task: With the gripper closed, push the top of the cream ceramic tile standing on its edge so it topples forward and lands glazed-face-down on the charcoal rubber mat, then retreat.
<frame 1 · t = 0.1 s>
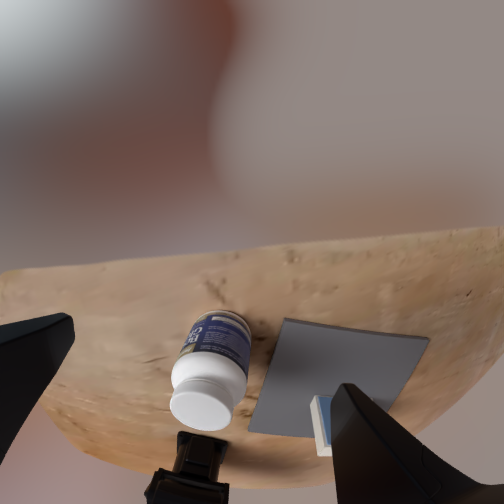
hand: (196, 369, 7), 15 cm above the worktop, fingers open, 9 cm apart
mat: (336, 391, 25), on the worktop
tile: (342, 402, 25), point 1 cm above the worktop, touching mat
pill bottle: (222, 333, 24), on the worktop
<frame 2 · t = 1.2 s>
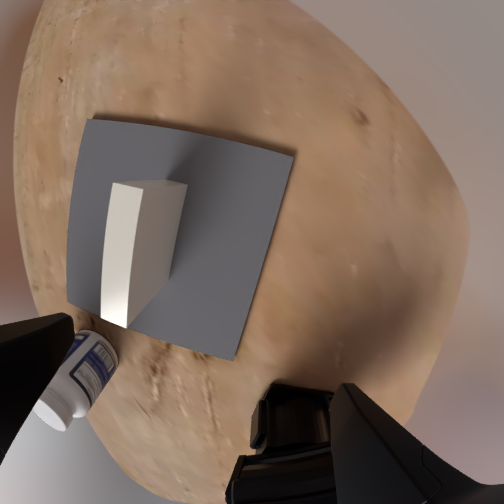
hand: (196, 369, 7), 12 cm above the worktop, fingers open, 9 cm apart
mat: (154, 239, 19), on the worktop
tile: (166, 231, 18), point 1 cm above the worktop, touching mat
pill bottle: (97, 350, 23), on the worktop
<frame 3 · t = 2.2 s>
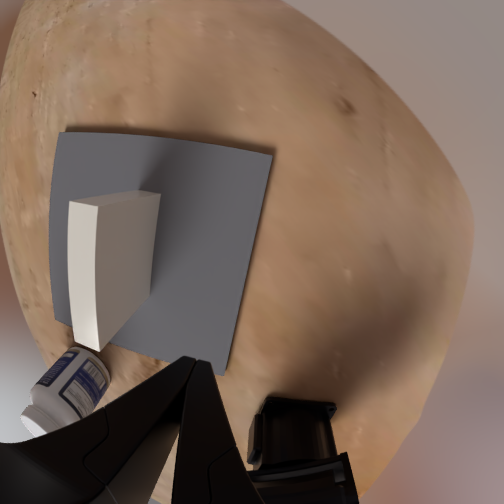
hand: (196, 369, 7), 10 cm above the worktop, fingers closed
mat: (132, 253, 18), on the worktop
tile: (142, 245, 17), point 1 cm above the worktop, touching mat
pill bottle: (89, 366, 21), on the worktop
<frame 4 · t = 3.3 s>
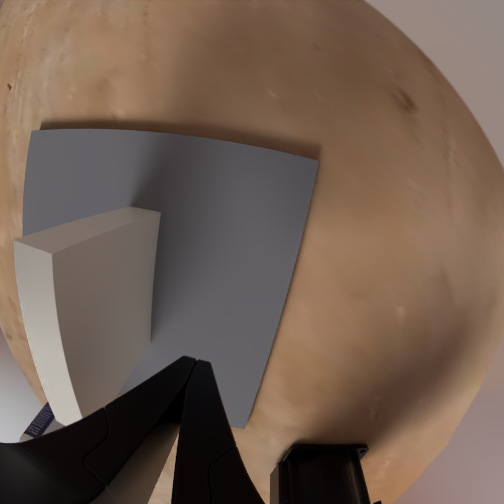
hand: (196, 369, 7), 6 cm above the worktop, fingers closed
mat: (125, 289, 13), on the worktop
tile: (138, 280, 12), point 1 cm above the worktop, touching mat
pill bottle: (84, 407, 17), on the worktop
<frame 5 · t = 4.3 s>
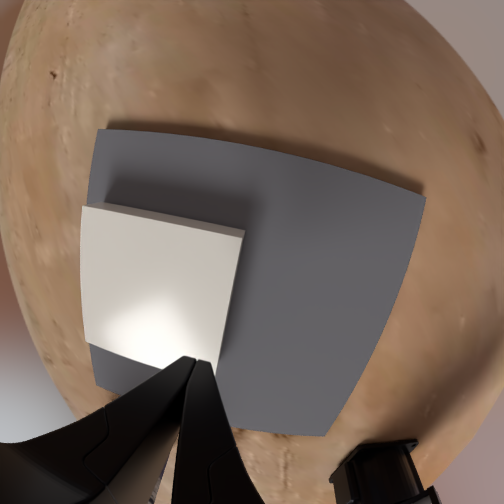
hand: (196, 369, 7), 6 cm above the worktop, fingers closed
mat: (227, 315, 13), on the worktop
tile: (227, 312, 11), point 2 cm above the worktop, tilted 90°, touching mat
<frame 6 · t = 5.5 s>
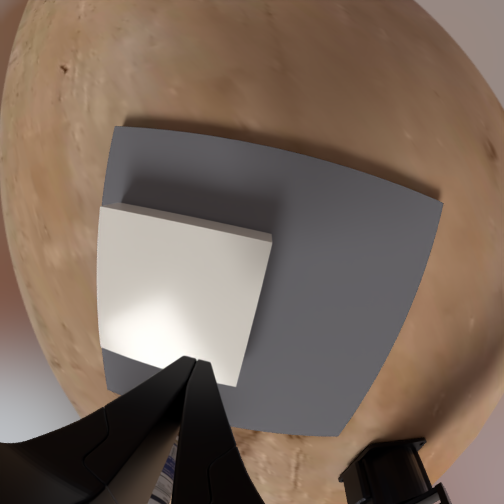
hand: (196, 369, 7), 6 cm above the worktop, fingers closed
mat: (248, 319, 13), on the worktop
tile: (252, 317, 11), point 2 cm above the worktop, tilted 90°, touching mat
pill bottle: (153, 434, 17), on the worktop
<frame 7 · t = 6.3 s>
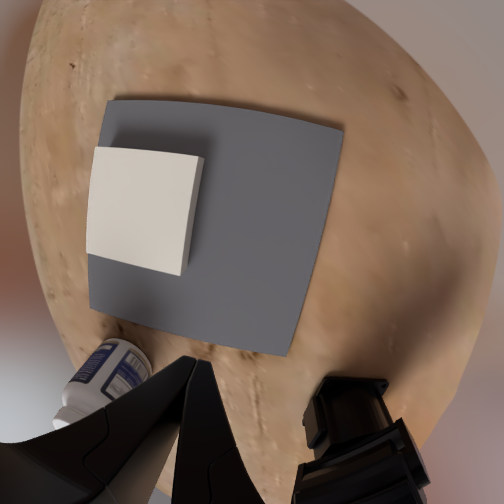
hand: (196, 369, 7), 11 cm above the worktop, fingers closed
mat: (194, 227, 17), on the worktop
tile: (191, 216, 16), point 2 cm above the worktop, tilted 90°, touching mat
pill bottle: (127, 360, 21), on the worktop
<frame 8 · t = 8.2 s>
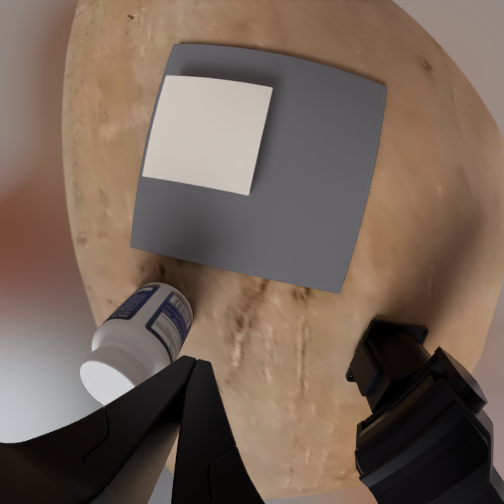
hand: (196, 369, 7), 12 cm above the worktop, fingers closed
mat: (257, 158, 18), on the worktop
tile: (261, 141, 16), point 2 cm above the worktop, tilted 90°, touching mat
pill bottle: (163, 310, 21), on the worktop
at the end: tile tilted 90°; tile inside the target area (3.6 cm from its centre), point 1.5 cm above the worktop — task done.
